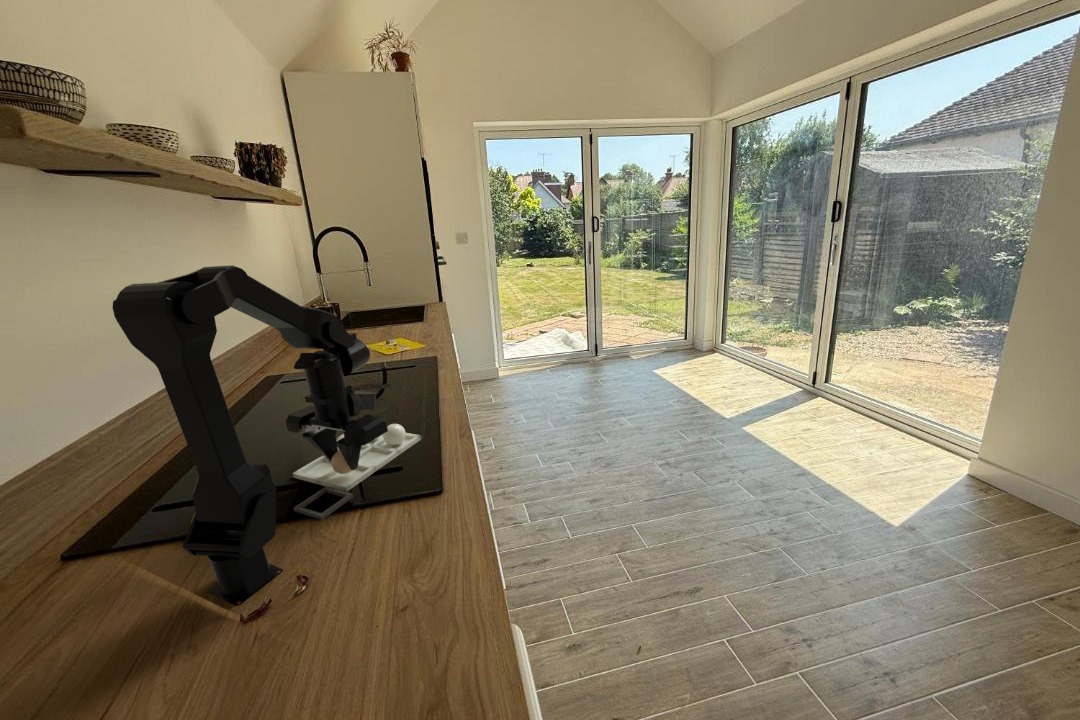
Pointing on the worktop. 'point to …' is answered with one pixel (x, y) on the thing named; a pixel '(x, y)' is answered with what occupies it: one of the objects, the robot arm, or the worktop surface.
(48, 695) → the worktop surface
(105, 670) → the worktop surface
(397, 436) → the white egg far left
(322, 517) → the gray rectangular frame
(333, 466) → the brown egg
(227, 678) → the worktop surface
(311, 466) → the egg tray
